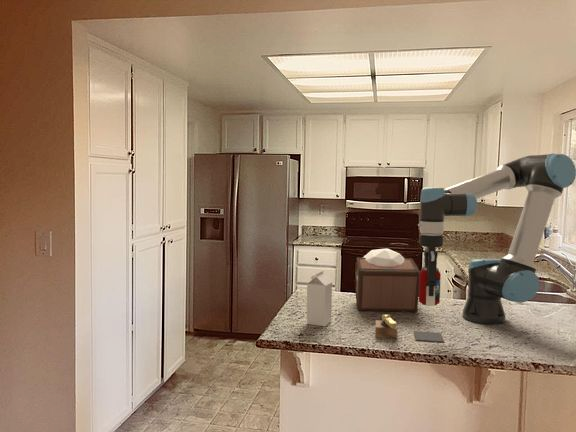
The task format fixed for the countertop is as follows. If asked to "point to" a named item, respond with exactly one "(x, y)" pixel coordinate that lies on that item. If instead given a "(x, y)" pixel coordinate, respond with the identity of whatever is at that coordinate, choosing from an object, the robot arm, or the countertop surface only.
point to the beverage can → (423, 288)
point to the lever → (388, 321)
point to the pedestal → (385, 330)
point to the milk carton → (319, 300)
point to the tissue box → (386, 282)
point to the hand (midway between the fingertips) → (429, 302)
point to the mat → (428, 336)
